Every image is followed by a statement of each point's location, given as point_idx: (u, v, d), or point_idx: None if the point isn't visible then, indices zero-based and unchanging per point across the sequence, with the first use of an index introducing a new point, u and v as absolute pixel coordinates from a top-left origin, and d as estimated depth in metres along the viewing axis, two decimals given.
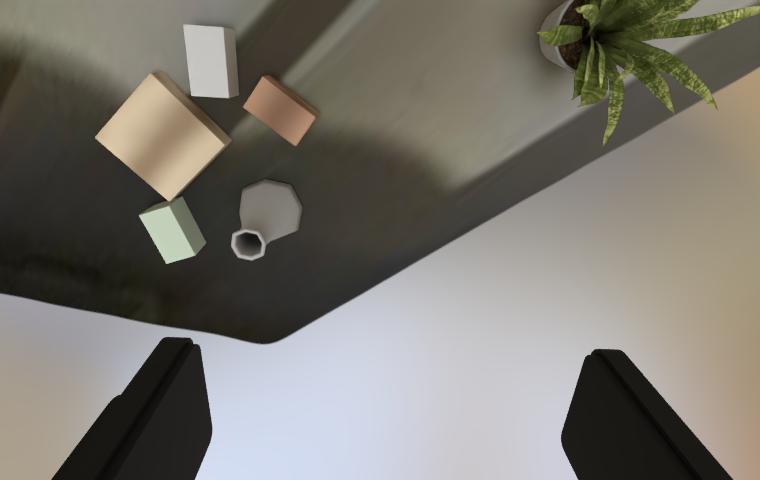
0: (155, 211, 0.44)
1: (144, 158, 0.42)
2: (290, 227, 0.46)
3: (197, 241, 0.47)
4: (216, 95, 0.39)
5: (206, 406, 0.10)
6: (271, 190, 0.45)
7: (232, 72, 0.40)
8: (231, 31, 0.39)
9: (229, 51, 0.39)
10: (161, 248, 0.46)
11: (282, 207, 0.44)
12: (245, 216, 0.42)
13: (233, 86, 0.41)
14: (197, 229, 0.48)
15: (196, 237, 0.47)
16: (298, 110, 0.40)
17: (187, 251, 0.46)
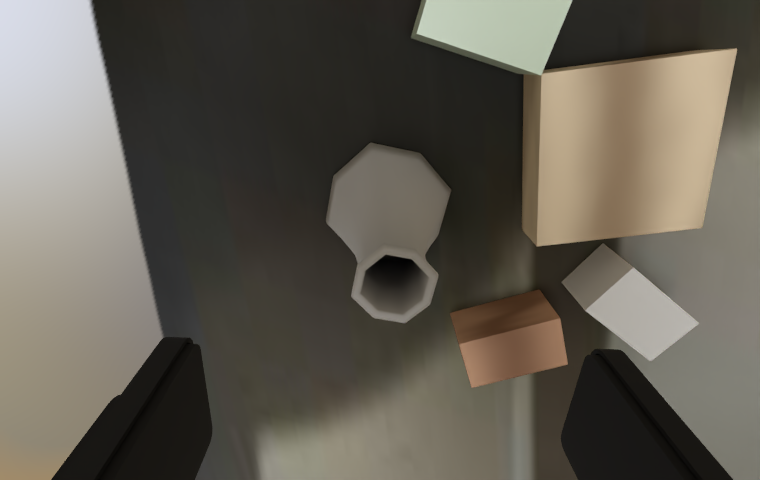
0: (554, 36, 0.18)
1: (633, 103, 0.20)
2: None
3: (431, 42, 0.20)
4: (602, 298, 0.24)
5: (205, 406, 0.10)
6: None
7: None
8: None
9: None
10: None
11: (388, 265, 0.23)
12: (427, 237, 0.19)
13: None
14: (447, 49, 0.21)
15: (439, 45, 0.20)
16: (497, 376, 0.26)
17: (435, 23, 0.18)
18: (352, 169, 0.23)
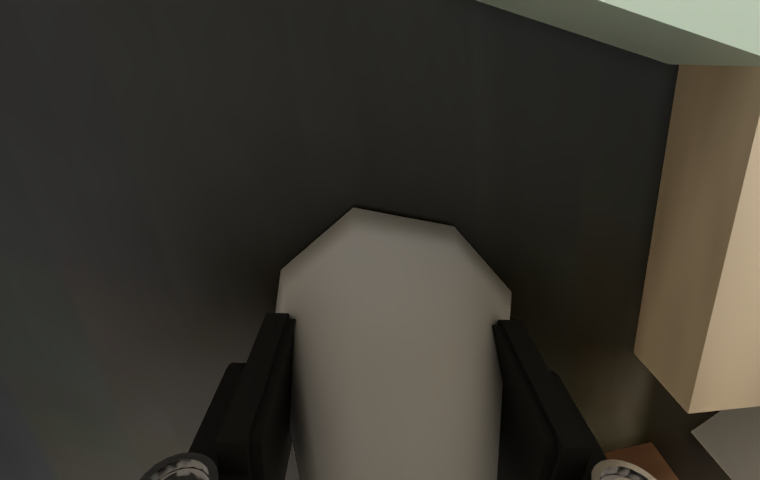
0: None
1: None
2: None
3: None
4: None
5: None
6: None
7: None
8: None
9: None
10: None
11: None
12: None
13: None
14: (523, 13, 0.09)
15: None
16: None
17: None
18: (315, 267, 0.11)
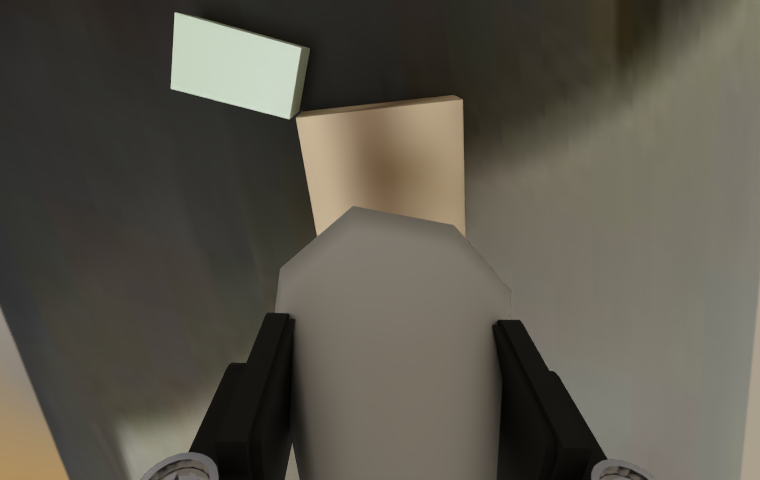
0: (292, 86, 0.21)
1: (382, 143, 0.23)
2: None
3: None
4: None
5: None
6: None
7: None
8: None
9: None
10: (213, 30, 0.20)
11: None
12: None
13: None
14: None
15: None
16: None
17: (185, 79, 0.21)
18: (314, 265, 0.11)
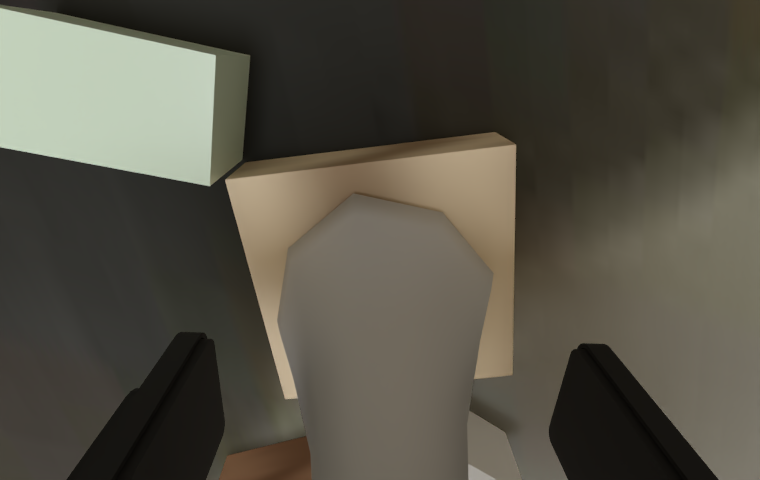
0: (207, 127, 0.11)
1: None
2: None
3: None
4: None
5: (218, 400, 0.10)
6: None
7: None
8: None
9: None
10: (42, 31, 0.10)
11: None
12: None
13: None
14: None
15: None
16: None
17: (8, 126, 0.11)
18: (318, 245, 0.12)
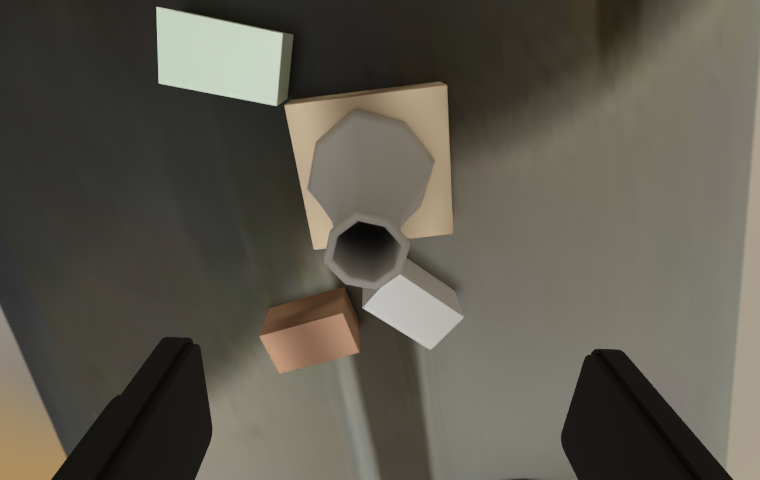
0: (277, 72, 0.21)
1: None
2: None
3: None
4: (375, 297, 0.27)
5: (205, 406, 0.10)
6: None
7: None
8: None
9: None
10: (195, 22, 0.20)
11: (367, 234, 0.23)
12: (406, 207, 0.19)
13: None
14: None
15: None
16: (299, 363, 0.29)
17: (172, 73, 0.21)
18: (334, 136, 0.22)
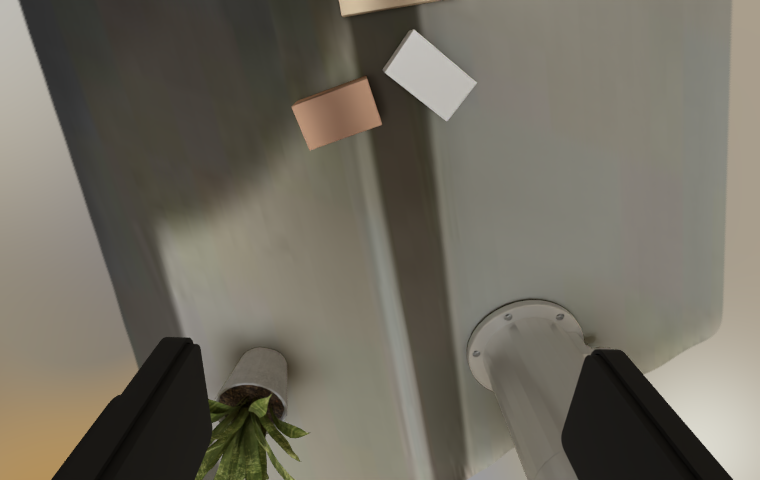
0: None
1: None
2: None
3: None
4: (395, 60, 0.30)
5: (206, 406, 0.10)
6: None
7: None
8: None
9: None
10: None
11: None
12: None
13: None
14: None
15: None
16: (328, 137, 0.32)
17: None
18: None
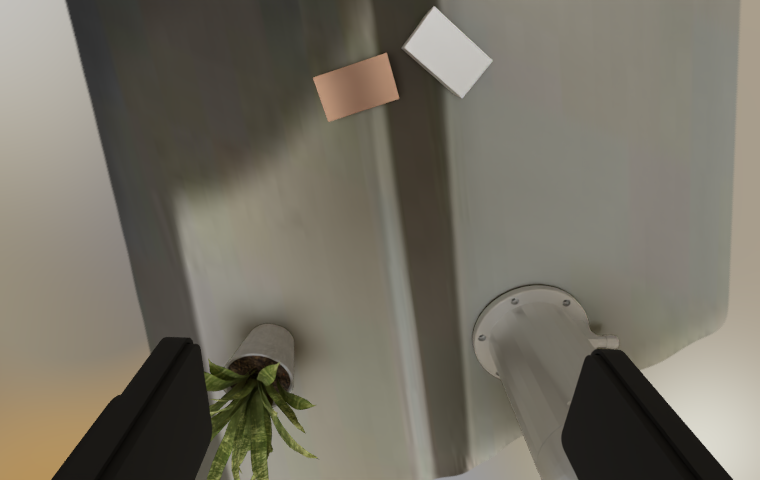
0: None
1: None
2: None
3: None
4: (415, 35, 0.31)
5: (206, 406, 0.10)
6: None
7: (423, 66, 0.34)
8: (454, 94, 0.35)
9: (441, 81, 0.34)
10: None
11: None
12: None
13: (411, 55, 0.33)
14: None
15: None
16: (346, 110, 0.33)
17: None
18: None
